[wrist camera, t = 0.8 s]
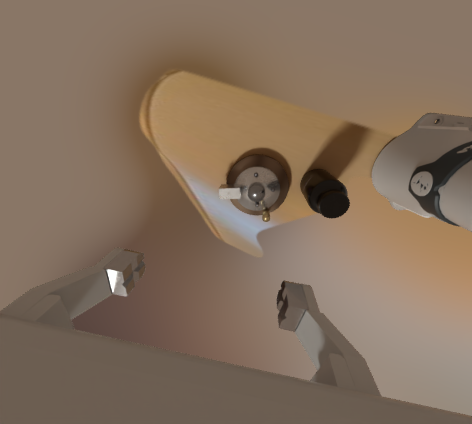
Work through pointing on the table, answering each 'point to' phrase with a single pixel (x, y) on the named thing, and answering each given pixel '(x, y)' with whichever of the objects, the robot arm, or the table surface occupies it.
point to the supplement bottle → (324, 193)
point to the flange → (253, 188)
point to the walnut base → (270, 164)
